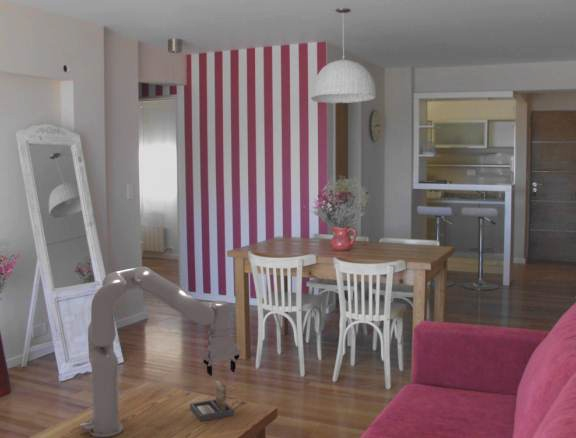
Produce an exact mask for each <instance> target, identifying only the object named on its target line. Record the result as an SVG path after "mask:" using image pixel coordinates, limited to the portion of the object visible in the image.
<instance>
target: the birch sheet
mask: <svg viewBox="0 0 576 438" xmlns="http://www.w3.org/2000/svg"><path fill="white" fill-rule="evenodd" d="M215 399H216V405H217V406H218V407H219V408H220V410H221V411H226V403H227V386H226V385H225V383H224V382H222V380H216V381H215Z"/></svg>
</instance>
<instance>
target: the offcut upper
mask: <svg viewBox="0 0 576 438" xmlns="http://www.w3.org/2000/svg"><path fill="white" fill-rule="evenodd" d="M197 409H198V410H199V412H200V413H201V414H202V415H203V414H209V413H214V412H215V411H214V410H213V409H212V408H211V407H210V406H209V405H203V406H197Z"/></svg>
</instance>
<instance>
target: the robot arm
mask: <svg viewBox="0 0 576 438" xmlns="http://www.w3.org/2000/svg"><path fill="white" fill-rule="evenodd" d="M136 289H138V290H140V291H142V292H143V293H145V294H146V295H149V296H150V297H152V298H154V299H155V300H158V301H159V302H161V303H162V304H164V305H166V306H167V307H169V308H171V309H172V310H175V311H176V312H178V313H180V314H181V315H183V316H185V317H186V318H188V319H189V320H192V321H193V322H194V323H197V324H198V325H201V326H209V325H210V329H209V330H207V334H208V335H209V339H208V345H207V350H206V351H204V352H203V353H201V355H199V358H200V359H201V361H202V363H204V364H205V365H206V372H207V374H208V375H209V376H210V377H211V376H213V366H212V364H213V363H214V362H222V361H229V360H230V362H229V363H230V366H229V367H230V371H231V372H233V373H235V371H236V365H237V364H236V363H237V361H238V359H239V358H240V355H241V354H242V350H241V349H239V348H238V347H235V345H234V338H233V334H231V329H230V327H231V325H230V323H231V322H230V320H231V319H230V304H229V302H228V301H225V300H216V301H199V300H197V299H196V298H195V297H193V296H191V295H190V294H188V292H186V291H185V290H184V289H183V288H181V287H180V286H178V284H175V283H173V282H172V281H170V280H168V279H166V278H165V277H164V276H162V275H160V274H158V273H157V272H155V271H154V270H152V269H151V268H150V267H148V266H137V267H131V268H126V269H122V270H117V271H113V272H110V273H108V274H107V275H106V276H104V278H103V280H102V286H101V287H100V288H99V289H98V290H97V291H96V293H95V294H94V296H93V298H92V300H91V308H90V312H91V313H90V314H91V316H90V318H91V319H90V322H89V324H88V329H87V340H88V341H87V345H88V346H87V347H88V348H87V349H88V358H89V363H90V366H91V393H92V397H91V398H92V418H91V420H90V421H89V422H84V423H80V424H79V425H80V429H81V430H82V429H84V431H88V432H89V435H91V436H92V437H96V438H108V437H113V436H117V435H119V434H121V432H123V431H124V424H123V423H122V422H120V409H119V407H120V404H119V361H118V357H117V355H116V353H115V350H114V348H115V347H114V342H115V340H116V335H117V332H116V331H117V330H116V321H115V315H116V313H115V310H116V305H117V303H118V302H119V301H120V300H121V299H123V298H125V296H127V293H128V292H129V291H131V290H136ZM235 352H236V354H235ZM206 357H208V359H206Z"/></svg>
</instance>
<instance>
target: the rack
mask: <svg viewBox="0 0 576 438" xmlns="http://www.w3.org/2000/svg"><path fill="white" fill-rule="evenodd" d="M189 405H190V406H189V410H190V411H191V412H192V413H193V415H194V416H195V417H196V418H197V419H198V421H199V422H200V423H201V422H205V421H212V420H217V419H223V418H227V417H233V416H234V409H233V408H232V407H231V406H230V405H229V404H228V403H227V402H226V411H221V410H220V408H219V407H218V406H217V405H216V398H215V399H209V400H204V401H203V400H202V401H197V402H191V403H189ZM203 405H209V406H210V407H211V408H212V409H213V410H214V413H209V414H203V415H202V414H201V413H200V412H199V410H198V409H197V406H203Z"/></svg>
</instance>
